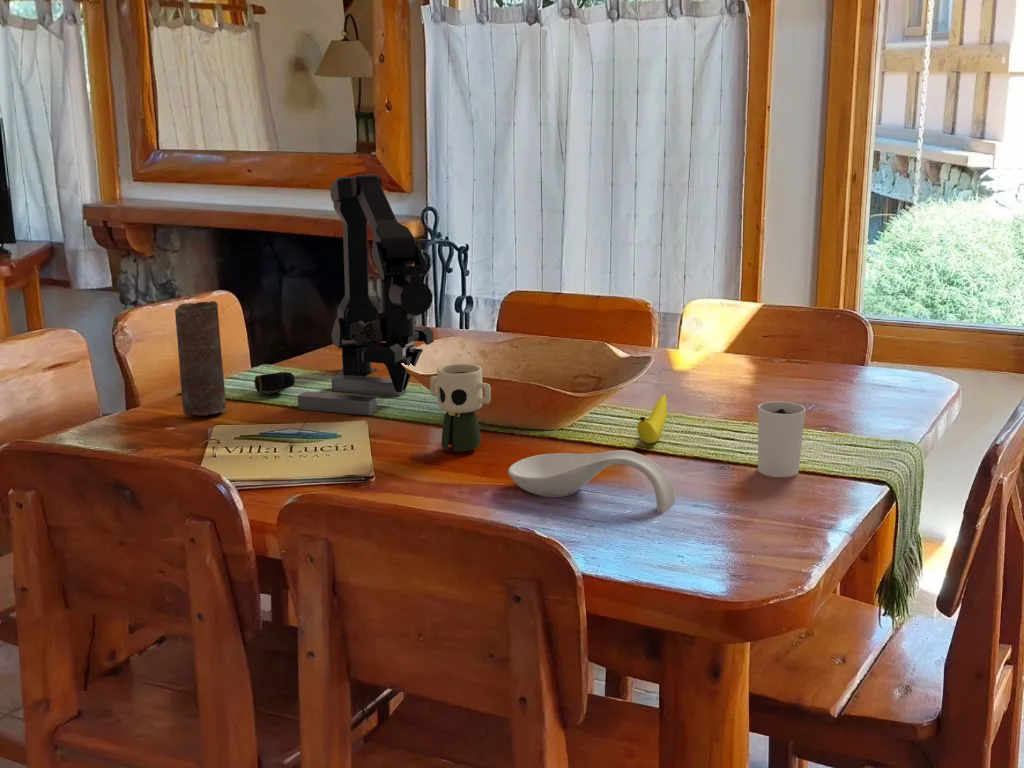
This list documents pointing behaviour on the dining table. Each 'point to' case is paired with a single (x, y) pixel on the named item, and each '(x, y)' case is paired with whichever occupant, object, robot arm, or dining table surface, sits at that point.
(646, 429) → the banana
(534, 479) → the spoon rest
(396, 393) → the guide channel
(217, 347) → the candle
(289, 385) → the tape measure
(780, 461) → the light grey cup
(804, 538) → the dining table surface
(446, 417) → the character mug
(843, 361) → the dining table surface
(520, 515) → the dining table surface
